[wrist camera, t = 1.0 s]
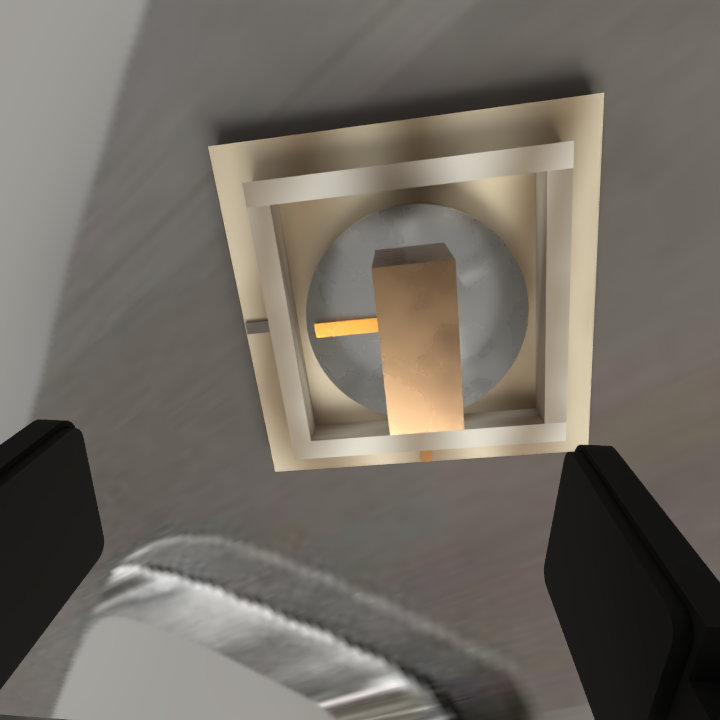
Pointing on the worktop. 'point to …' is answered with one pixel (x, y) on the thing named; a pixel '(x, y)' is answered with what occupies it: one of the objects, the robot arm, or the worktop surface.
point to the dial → (417, 314)
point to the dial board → (427, 185)
